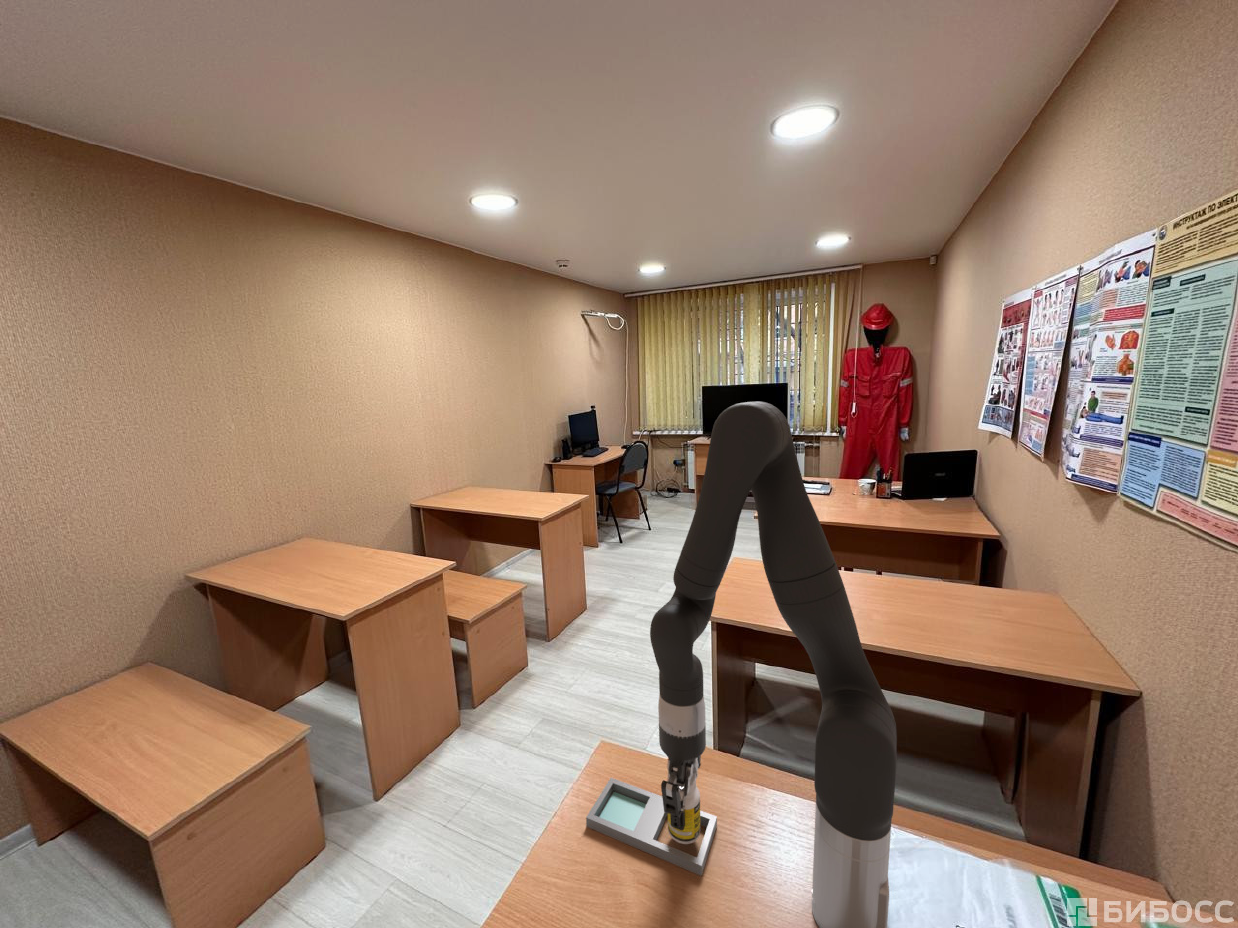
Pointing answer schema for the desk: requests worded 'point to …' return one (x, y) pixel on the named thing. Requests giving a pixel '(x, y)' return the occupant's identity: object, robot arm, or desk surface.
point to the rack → (644, 823)
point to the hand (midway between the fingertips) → (683, 811)
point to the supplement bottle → (688, 816)
